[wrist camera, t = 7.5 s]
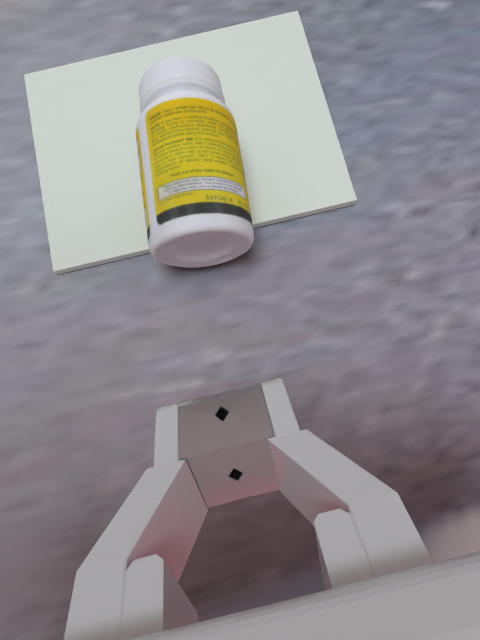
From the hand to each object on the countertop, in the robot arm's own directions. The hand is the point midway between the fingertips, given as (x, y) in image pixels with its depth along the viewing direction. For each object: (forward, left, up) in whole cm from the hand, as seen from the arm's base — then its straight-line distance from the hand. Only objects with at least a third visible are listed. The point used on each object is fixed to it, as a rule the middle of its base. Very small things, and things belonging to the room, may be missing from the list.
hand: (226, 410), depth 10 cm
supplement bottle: (0, +7, -7) cm, 10 cm away
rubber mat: (0, +15, -10) cm, 18 cm away
